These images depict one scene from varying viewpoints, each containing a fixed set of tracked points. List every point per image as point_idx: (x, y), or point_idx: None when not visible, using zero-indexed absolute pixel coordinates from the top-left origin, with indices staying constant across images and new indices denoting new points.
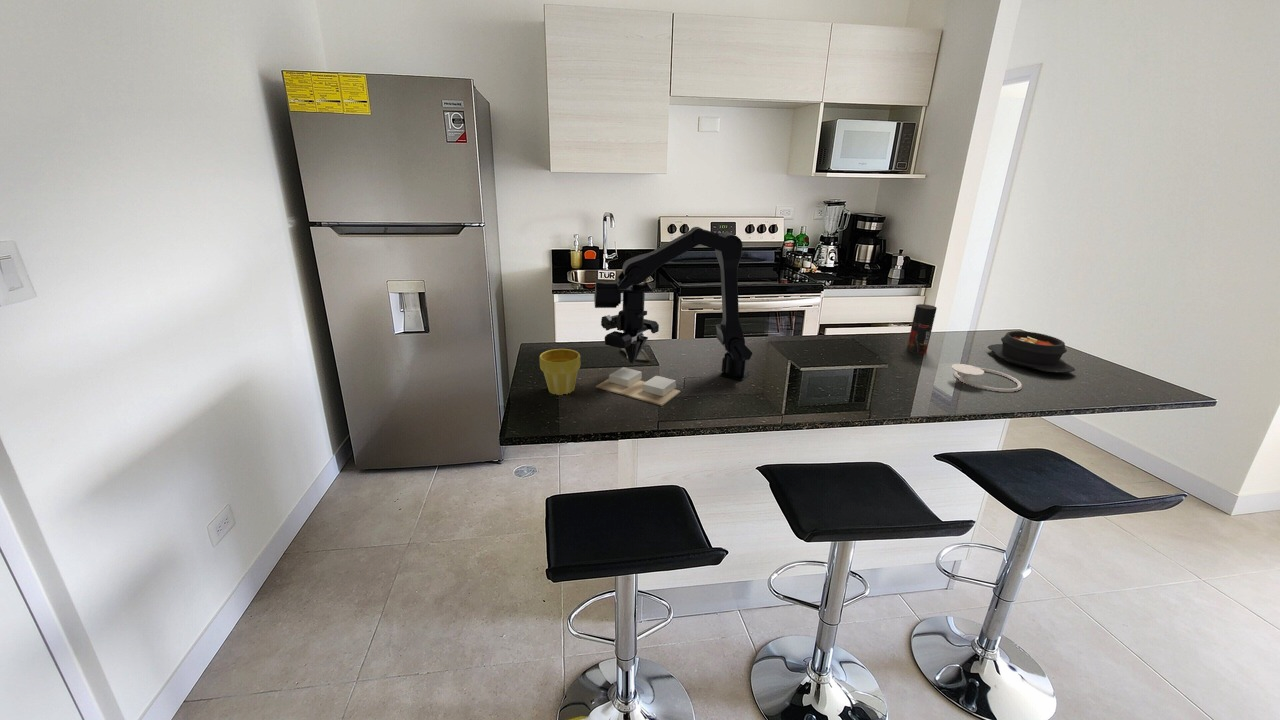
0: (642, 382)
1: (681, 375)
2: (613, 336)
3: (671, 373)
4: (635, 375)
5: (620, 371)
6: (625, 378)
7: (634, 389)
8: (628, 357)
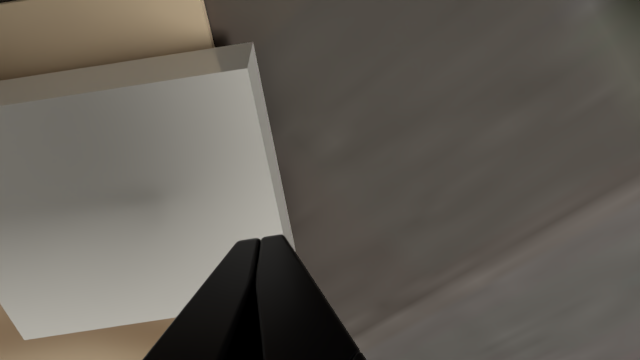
0: None
1: (577, 354)
2: None
3: (581, 297)
4: (173, 315)
5: (105, 145)
6: (23, 305)
7: (84, 331)
8: (198, 303)
